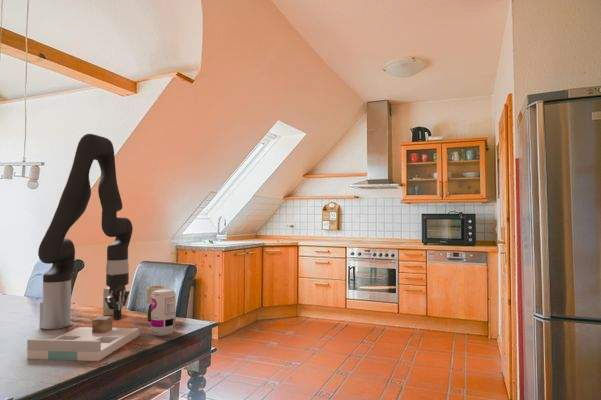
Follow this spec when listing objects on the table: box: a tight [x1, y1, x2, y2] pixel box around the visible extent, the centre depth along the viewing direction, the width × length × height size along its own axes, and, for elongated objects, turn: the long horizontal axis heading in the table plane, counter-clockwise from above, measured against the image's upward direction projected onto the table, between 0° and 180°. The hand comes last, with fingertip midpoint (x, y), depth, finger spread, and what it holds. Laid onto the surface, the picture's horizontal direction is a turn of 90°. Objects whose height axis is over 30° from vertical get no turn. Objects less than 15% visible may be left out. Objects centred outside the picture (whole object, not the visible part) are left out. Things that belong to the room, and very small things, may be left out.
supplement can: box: [150, 288, 177, 337], centre depth 143 cm, size 8×8×15 cm
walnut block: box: [91, 315, 113, 333], centre depth 136 cm, size 4×4×4 cm
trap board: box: [26, 326, 140, 362], centre depth 128 cm, size 22×24×6 cm
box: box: [102, 286, 114, 316], centre depth 171 cm, size 5×4×11 cm
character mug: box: [145, 285, 166, 320], centre depth 161 cm, size 11×7×13 cm, turn 43°
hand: (117, 319), depth 145 cm, fingers closed
